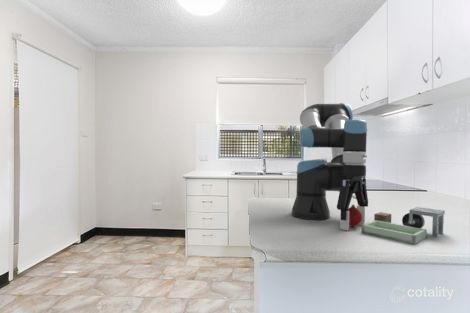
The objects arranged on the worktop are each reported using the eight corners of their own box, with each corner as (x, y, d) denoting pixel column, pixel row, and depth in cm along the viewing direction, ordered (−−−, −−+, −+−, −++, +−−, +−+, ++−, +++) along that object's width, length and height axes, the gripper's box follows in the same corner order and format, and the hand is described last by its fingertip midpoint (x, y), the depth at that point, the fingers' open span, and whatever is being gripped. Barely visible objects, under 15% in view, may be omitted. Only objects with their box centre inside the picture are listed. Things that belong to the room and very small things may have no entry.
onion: (363, 230, 100) (363, 206, 100) (345, 228, 101) (345, 205, 101) (359, 225, 106) (360, 203, 105) (342, 224, 107) (343, 202, 107)
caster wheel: (399, 230, 100) (399, 208, 100) (407, 226, 106) (408, 205, 106) (437, 237, 92) (437, 213, 92) (444, 233, 98) (444, 210, 97)
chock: (374, 224, 108) (374, 213, 108) (379, 222, 111) (380, 212, 111) (385, 226, 105) (385, 215, 105) (391, 224, 108) (391, 213, 108)
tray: (361, 232, 97) (361, 224, 97) (375, 227, 104) (375, 220, 104) (414, 244, 85) (415, 235, 85) (426, 237, 92) (426, 229, 92)
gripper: (348, 165, 92) (346, 235, 93) (379, 164, 108) (377, 223, 108) (326, 164, 98) (325, 230, 98) (359, 163, 114) (357, 220, 114)
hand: (352, 226), depth 103 cm, fingers open, 11 cm apart
